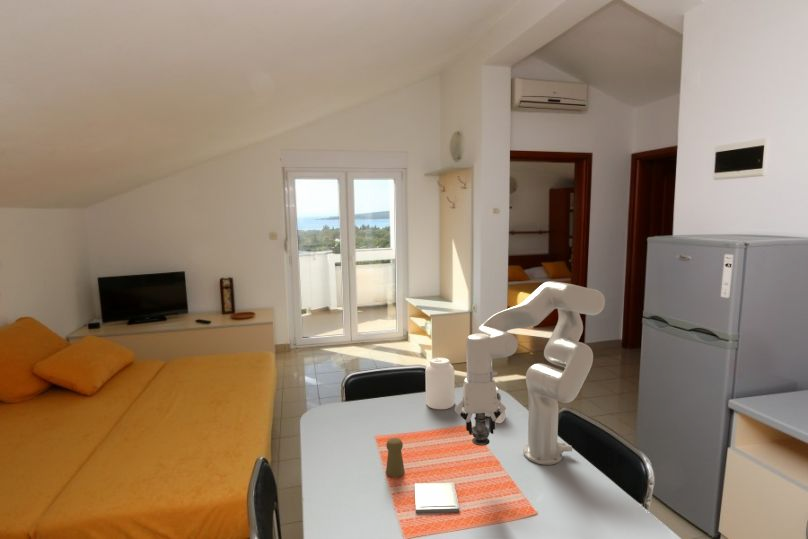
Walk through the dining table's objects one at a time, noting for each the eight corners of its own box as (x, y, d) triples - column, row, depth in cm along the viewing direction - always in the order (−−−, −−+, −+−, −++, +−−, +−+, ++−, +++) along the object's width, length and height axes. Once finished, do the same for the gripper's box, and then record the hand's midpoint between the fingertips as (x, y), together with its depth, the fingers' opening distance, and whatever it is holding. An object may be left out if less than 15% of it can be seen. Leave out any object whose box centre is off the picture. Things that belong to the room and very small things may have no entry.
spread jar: (486, 408, 189) (486, 382, 188) (511, 415, 182) (512, 388, 181) (473, 419, 179) (473, 391, 178) (499, 427, 173) (499, 398, 171)
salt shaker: (490, 446, 133) (489, 408, 132) (470, 445, 135) (469, 407, 133) (490, 437, 139) (490, 400, 137) (471, 435, 140) (470, 399, 139)
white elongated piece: (424, 409, 190) (423, 363, 187) (427, 397, 202) (426, 354, 199) (453, 411, 187) (453, 364, 185) (455, 398, 200) (455, 355, 197)
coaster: (454, 485, 136) (454, 482, 136) (459, 511, 124) (459, 507, 124) (414, 486, 136) (414, 483, 136) (416, 512, 124) (415, 509, 124)
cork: (390, 479, 140) (390, 446, 139) (382, 470, 145) (381, 438, 144) (407, 474, 143) (407, 441, 141) (399, 465, 148) (398, 433, 147)
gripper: (505, 369, 138) (505, 425, 140) (449, 372, 138) (451, 427, 140) (511, 379, 130) (511, 437, 133) (452, 381, 130) (453, 439, 133)
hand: (480, 431), depth 136 cm, fingers closed on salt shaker, 5 cm apart
